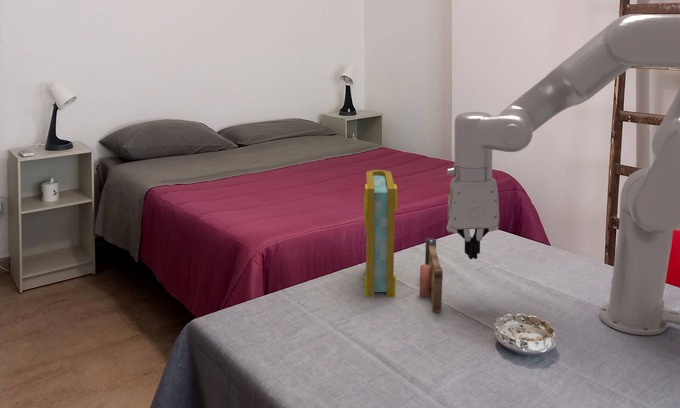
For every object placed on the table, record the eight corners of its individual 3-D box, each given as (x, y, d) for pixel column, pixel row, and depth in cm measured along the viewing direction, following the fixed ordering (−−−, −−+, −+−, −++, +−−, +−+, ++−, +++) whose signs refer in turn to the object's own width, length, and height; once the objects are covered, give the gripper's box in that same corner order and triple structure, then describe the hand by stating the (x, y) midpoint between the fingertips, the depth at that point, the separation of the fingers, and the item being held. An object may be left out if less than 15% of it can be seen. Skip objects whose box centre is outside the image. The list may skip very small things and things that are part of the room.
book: (395, 296, 137) (397, 188, 130) (365, 296, 138) (365, 188, 130) (390, 267, 154) (392, 169, 146) (363, 267, 154) (364, 169, 146)
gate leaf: (441, 311, 129) (442, 271, 127) (433, 311, 129) (434, 271, 127) (433, 280, 145) (435, 243, 142) (426, 280, 145) (428, 243, 142)
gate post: (436, 278, 147) (437, 239, 144) (432, 282, 145) (433, 242, 142) (427, 276, 148) (428, 237, 145) (422, 280, 146) (424, 240, 143)
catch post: (431, 294, 138) (432, 265, 136) (427, 298, 136) (428, 269, 134) (421, 292, 139) (422, 263, 137) (417, 296, 137) (418, 267, 135)
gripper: (439, 179, 123) (439, 264, 128) (514, 175, 122) (511, 261, 128) (434, 170, 130) (434, 252, 135) (505, 167, 130) (503, 249, 135)
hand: (472, 256), depth 131 cm, fingers closed
